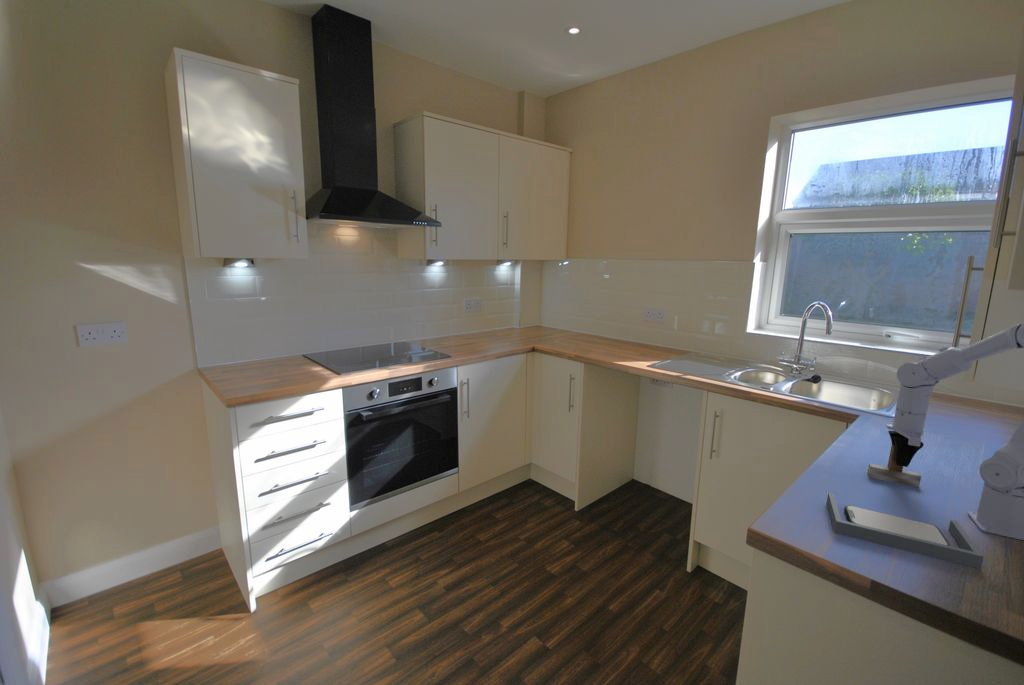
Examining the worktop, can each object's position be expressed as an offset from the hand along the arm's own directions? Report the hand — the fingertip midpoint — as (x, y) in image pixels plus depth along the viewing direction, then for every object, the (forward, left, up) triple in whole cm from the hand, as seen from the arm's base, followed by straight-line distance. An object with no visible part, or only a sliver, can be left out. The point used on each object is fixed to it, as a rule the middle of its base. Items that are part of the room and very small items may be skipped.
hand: (900, 463), depth 116 cm
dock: (+6, +29, -5) cm, 30 cm away
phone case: (+6, +27, -6) cm, 28 cm away
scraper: (+1, 0, -5) cm, 5 cm away
